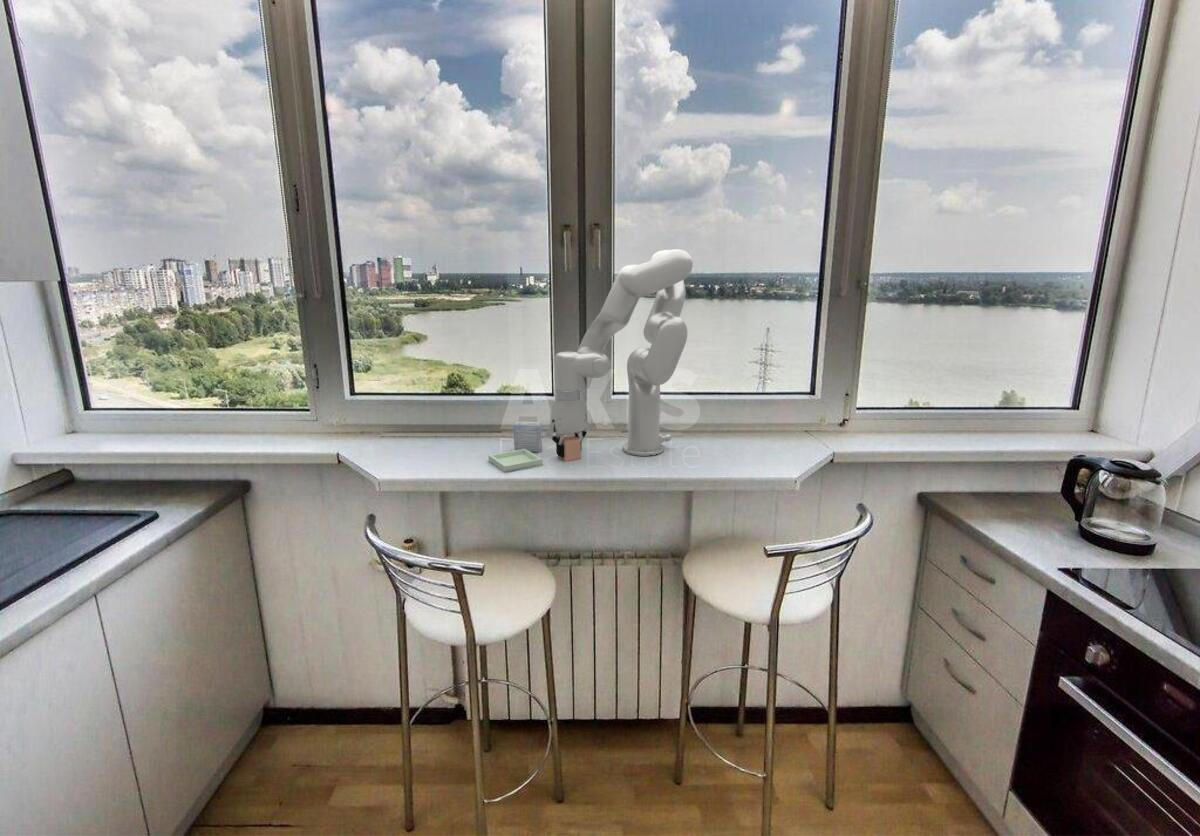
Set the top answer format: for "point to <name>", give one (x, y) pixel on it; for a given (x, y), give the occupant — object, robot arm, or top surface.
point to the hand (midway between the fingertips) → (569, 454)
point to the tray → (515, 460)
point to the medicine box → (528, 436)
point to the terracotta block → (571, 448)
